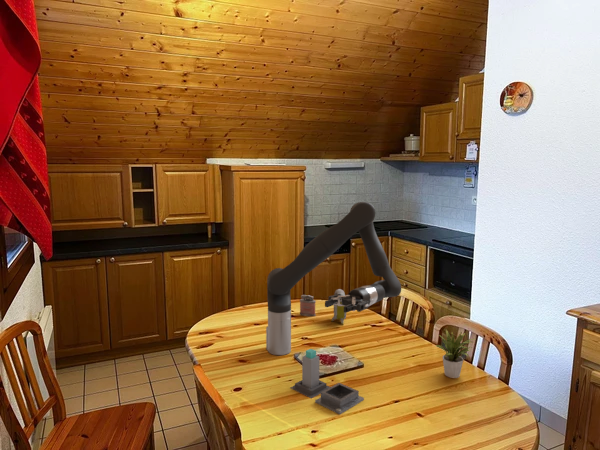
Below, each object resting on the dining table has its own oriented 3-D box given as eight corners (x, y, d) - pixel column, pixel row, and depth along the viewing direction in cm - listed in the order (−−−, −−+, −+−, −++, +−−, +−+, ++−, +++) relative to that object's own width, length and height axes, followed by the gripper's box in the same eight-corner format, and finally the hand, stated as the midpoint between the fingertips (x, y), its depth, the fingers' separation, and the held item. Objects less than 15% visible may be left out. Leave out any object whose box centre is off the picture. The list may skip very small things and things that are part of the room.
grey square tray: (289, 388, 155) (289, 383, 155) (309, 378, 162) (309, 373, 162) (311, 399, 148) (311, 394, 148) (331, 388, 155) (331, 383, 155)
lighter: (316, 314, 230) (316, 295, 228) (314, 316, 227) (314, 297, 225) (301, 312, 232) (301, 293, 231) (298, 314, 229) (298, 295, 228)
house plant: (468, 389, 155) (471, 343, 153) (427, 379, 162) (429, 334, 160) (477, 373, 167) (480, 330, 165) (438, 364, 174) (440, 322, 172)
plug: (302, 387, 155) (302, 350, 153) (310, 383, 158) (310, 347, 156) (311, 391, 152) (311, 354, 151) (319, 387, 155) (319, 350, 153)
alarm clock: (346, 326, 214) (346, 294, 212) (331, 326, 214) (331, 294, 212) (344, 317, 226) (344, 287, 224) (330, 317, 226) (330, 287, 224)
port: (315, 403, 146) (315, 392, 145) (339, 389, 154) (339, 380, 154) (339, 415, 139) (340, 404, 138) (363, 400, 147) (364, 390, 147)
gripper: (348, 283, 176) (319, 292, 165) (379, 291, 166) (351, 300, 155) (347, 302, 177) (319, 312, 166) (378, 311, 167) (351, 322, 156)
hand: (334, 307), depth 160 cm, fingers open, 8 cm apart
